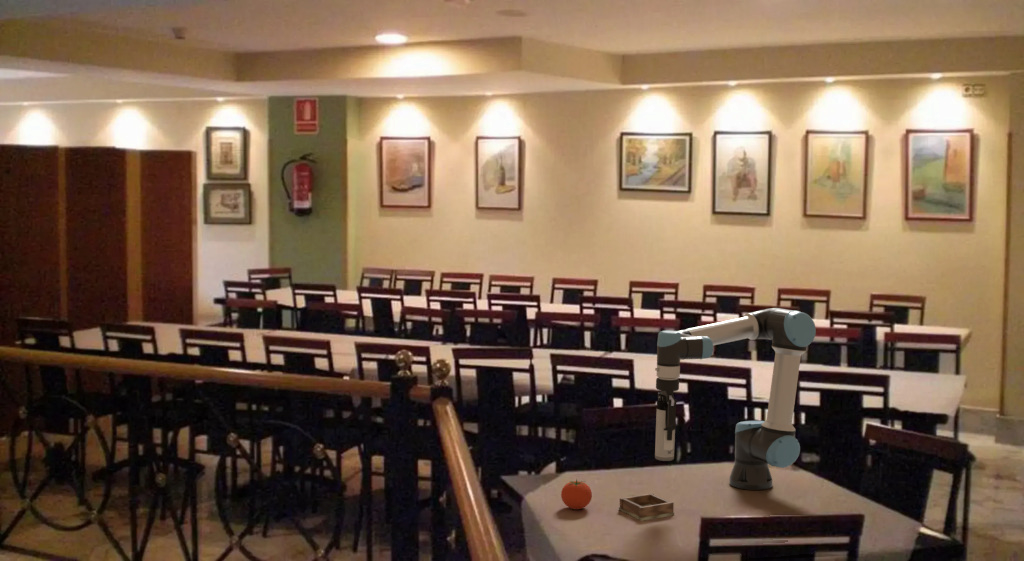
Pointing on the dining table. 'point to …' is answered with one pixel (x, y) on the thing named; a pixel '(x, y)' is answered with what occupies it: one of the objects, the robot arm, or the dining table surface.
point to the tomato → (576, 494)
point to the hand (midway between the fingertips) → (665, 447)
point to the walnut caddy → (646, 506)
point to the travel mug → (662, 434)
